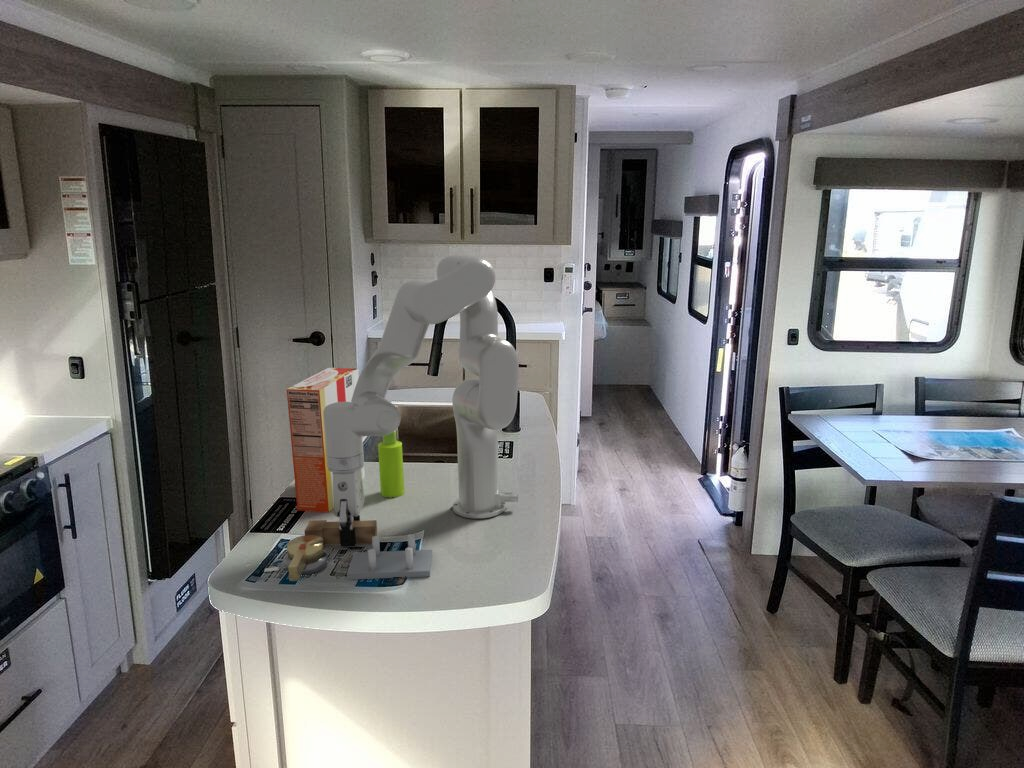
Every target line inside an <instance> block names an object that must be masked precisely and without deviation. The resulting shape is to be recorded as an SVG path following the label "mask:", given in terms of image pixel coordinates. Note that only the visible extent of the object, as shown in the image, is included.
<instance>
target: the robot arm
mask: <svg viewBox="0 0 1024 768" xmlns="http://www.w3.org/2000/svg"><path fill="white" fill-rule="evenodd" d="M436 267H437V268H436V278H437V279H435V280H432V281H425V280H416V279H415V280H414V279H413V280H410V281H406V282H405V283H403V284H402V285H401V286H400V287H399V289H398V291H397V293H396V296H395V299H394V301H393V305H392V307H391V310H390V313H389V317H388V319H387V322H386V325H385V328H384V331H383V333H382V337H381V339H380V343H379V345H378V347H377V348H376V350H375V351H374V352H373V353H372V355H371V357H370V358H369V360H368V361H366V363H365V365H364V367H362V370H361V372H360V374H359V375H358V377H359V379H358V381H357V384H356V387H355V390H354V393H353V396H352V400H351V402H336V403H332V404H329V405H327V406H326V407H325V409H324V412H323V415H324V429H325V442H326V455H327V468H328V470H329V471H330V472H333V494H334V508H333V509H334V514H335V517H337V518H338V519H339V521H338V522H339V533H340V545H339V546H340V547H341V548H349V547H350V548H353V547H356V545H357V544H356V536H355V528H353V521H361V515H360V514H361V512H362V509H363V506H364V503H365V493H364V492H365V491H364V482H363V481H364V480H362V473H361V469H362V468H363V467H364V468H365V459H364V460H363V455H364V445H362V439H363V437H383V436H384V435H388V434H390V433H392V432H394V431H395V430H396V431H397V429H398V428H399V426H400V424H401V421H402V420H401V419H402V418H401V417H402V416H401V412H400V410H399V409H398V407H397V406H396V405H395V404H393V403H392V402H391V401H390V400H387V399H386V397H387V396H386V395H387V394H388V390H389V388H390V385H391V383H392V381H393V379H394V378H395V377H396V375H397V374H398V373H399V372H400V371H401V370H403V369H404V368H406V367H407V366H409V365H411V364H412V363H414V362H416V360H417V359H418V358H419V356H420V352H421V350H422V347H423V346H422V345H423V344H424V343H423V342H424V340H425V338H426V334H427V332H428V329H429V326H430V325H437V324H440V323H443V322H445V321H447V320H449V319H451V318H453V317H454V316H456V315H458V314H459V349H458V350H459V351H458V353H459V354H458V357H459V364H460V365H461V367H462V368H463V369H464V370H465V371H467V372H468V373H470V374H473V375H474V376H475V375H476V376H478V378H474V377H473V378H467V379H464V380H462V381H461V382H460V383H459V384H458V385H457V386H456V387H455V389H454V391H453V395H452V411H453V416H454V421H455V426H456V427H455V428H456V441H457V442H456V444H457V447H456V448H457V474H458V475H457V477H458V481H457V482H458V498H457V499H456V500H454V502H453V503H452V510H453V513H454V514H456V515H457V516H460V517H462V518H467V519H475V520H476V519H488V518H492V517H496V516H498V515H500V514H502V513H503V512H505V510H506V503H519V494H518V493H513V491H512V490H511V491H509V490H507V491H503V490H501V486H500V485H499V484H500V483H499V482H500V481H499V479H500V477H499V437H498V430H499V431H500V430H502V429H504V428H506V427H508V426H509V425H510V424H511V422H512V421H513V419H514V417H515V415H516V412H517V407H518V406H517V405H518V392H519V391H518V389H519V388H518V387H519V370H520V369H519V357H518V353H517V351H516V349H515V347H514V345H513V344H512V343H510V341H508V340H506V339H504V338H501V337H499V332H498V331H499V327H498V326H499V323H498V321H499V320H498V318H499V317H498V306H497V300H496V298H495V295H494V292H493V291H492V290H493V288H494V287H495V283H496V272H495V268H494V267H493V266H492V265H491V263H490V262H488V261H487V260H485V259H483V258H481V257H474V256H467V255H460V254H459V255H456V254H455V255H448V256H445V257H444V258H442V259H441V260H440V261H439V262H438V263H437V266H436ZM349 521H350V522H349Z"/></svg>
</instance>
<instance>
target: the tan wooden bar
mask: <svg viewBox="0 0 1024 768" xmlns="http://www.w3.org/2000/svg"><path fill="white" fill-rule="evenodd" d="M349 522H350V521H349ZM377 522H378V521H377V519H374V520H372V519H371V520H370V519H369V520H360V521H353V528H355V536H356V545H370V544H371V545H373V544H372V537H373V536H378V524H377ZM305 535H315V536H319V537H321V538H322V539H323V544H324V546H335V545H336V546H340V533H339V521H327V520H326V519H322V520H321V519H319V520H318V519H317V520H309V521H308V523H307V525H306V527H305V529H304V536H305Z"/></svg>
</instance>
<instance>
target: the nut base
mask: <svg viewBox="0 0 1024 768" xmlns="http://www.w3.org/2000/svg"><path fill="white" fill-rule="evenodd" d="M290 563H291V560H290V559H289V558H288V556H287V557H286V559H285V567H286V572H287V571H288V567H289V565H290ZM328 564H329V563H328V555H327V552H326V550H324V554H323V555H322V556H321V557H319V558H318V559H315V560H312V561H308V562H307V563H306V565H305V567H304V569H303V571H302V574H301V575H302V576H301V577H306V576H305V575H310V576H313V575H312V574H314V575H317V574H319V573H322V572H323V571H324V570H326V568H327V567H328V566H329V565H328ZM278 568H279V566H276V567H275V566H274V567H266V568H264V570H263V573H264V572H270V571H271V572H270V573H273V572H272V571H278V572H279V569H278ZM288 572H289V571H288ZM288 572H287V573H288ZM316 573H317V574H316ZM303 575H304V576H303Z"/></svg>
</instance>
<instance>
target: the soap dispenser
mask: <svg viewBox="0 0 1024 768" xmlns="http://www.w3.org/2000/svg"><path fill="white" fill-rule="evenodd" d="M377 448H378V449H377V450H378V469H379V470H378V471H379V483H380V484H379V485H380V495H381V496H382V497H383V498H387V497H389V498H392V497H394V498H399V497H401V496H404V494H405V478H404V477H405V476H404V458H403V457H404V456H403V443H402V441H399V440H398V439H397V429H396V430H395V431H394V432H392V433H390V434H388V435H384V436H382V441H381V442H379V443H378V444H377ZM398 496H399V497H398Z"/></svg>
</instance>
